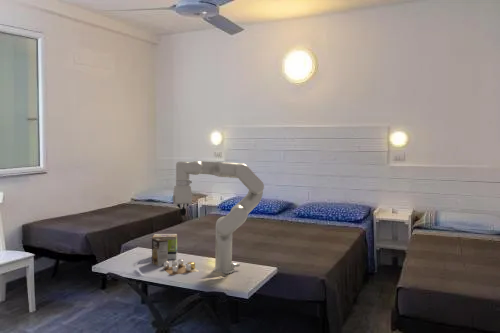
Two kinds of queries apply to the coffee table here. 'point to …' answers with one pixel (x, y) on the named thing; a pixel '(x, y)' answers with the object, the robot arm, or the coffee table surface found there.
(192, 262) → the brass domed cylinder
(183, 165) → the robot arm
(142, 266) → the coffee table surface
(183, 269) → the board
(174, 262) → the spacers
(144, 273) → the coffee table surface
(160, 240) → the coffee box
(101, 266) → the coffee table surface
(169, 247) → the tea box
